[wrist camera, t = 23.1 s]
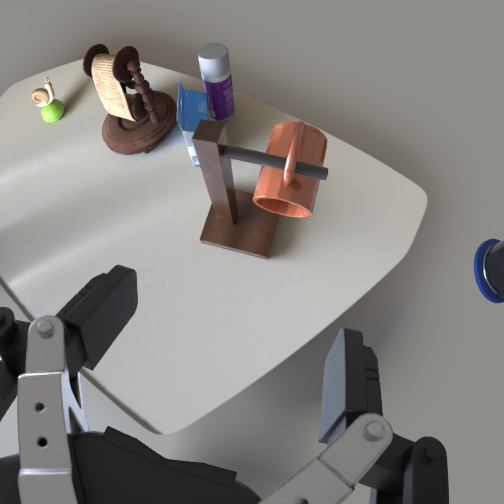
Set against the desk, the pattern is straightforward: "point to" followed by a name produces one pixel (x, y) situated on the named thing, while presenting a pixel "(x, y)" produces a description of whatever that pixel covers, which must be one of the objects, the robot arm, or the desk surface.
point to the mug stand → (237, 192)
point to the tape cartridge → (191, 115)
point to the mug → (291, 170)
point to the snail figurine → (48, 103)
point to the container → (217, 80)
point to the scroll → (129, 101)
